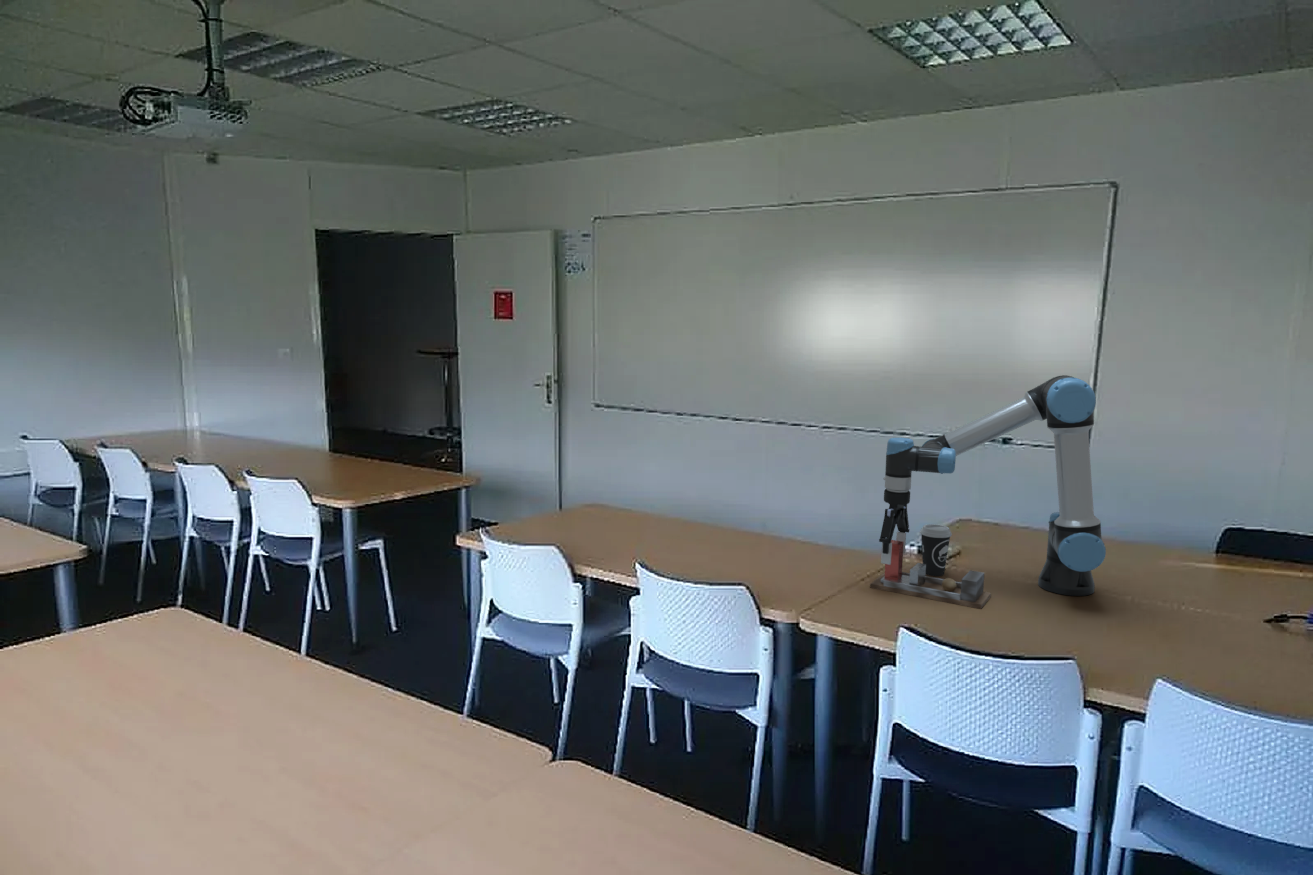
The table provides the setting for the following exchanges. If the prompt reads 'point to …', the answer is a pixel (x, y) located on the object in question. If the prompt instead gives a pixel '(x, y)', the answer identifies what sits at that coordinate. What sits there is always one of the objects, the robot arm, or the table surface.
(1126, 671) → the table surface
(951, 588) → the nut
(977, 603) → the bench
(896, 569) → the ram
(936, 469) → the robot arm
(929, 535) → the coffee cup
